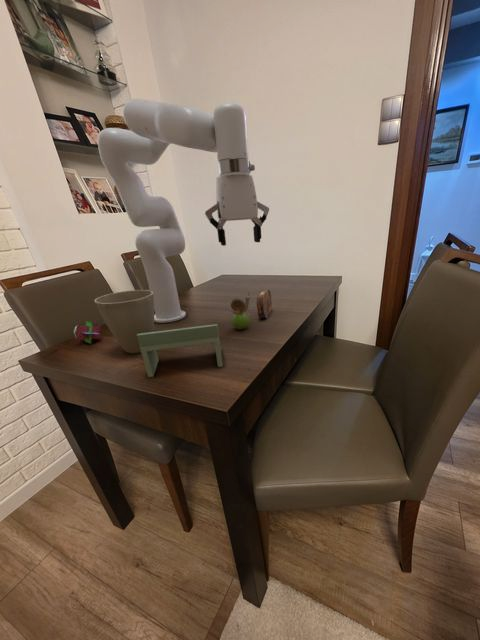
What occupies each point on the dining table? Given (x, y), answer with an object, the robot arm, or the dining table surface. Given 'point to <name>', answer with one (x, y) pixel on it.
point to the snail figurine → (240, 312)
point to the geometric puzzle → (87, 332)
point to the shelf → (176, 343)
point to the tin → (264, 304)
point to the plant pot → (128, 316)
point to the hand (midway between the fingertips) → (240, 243)
